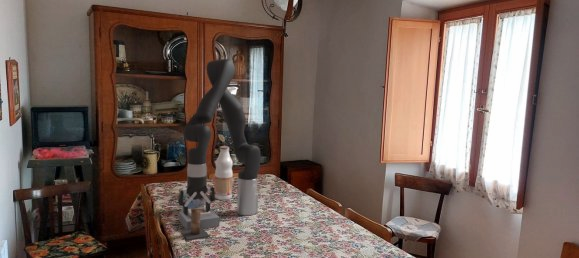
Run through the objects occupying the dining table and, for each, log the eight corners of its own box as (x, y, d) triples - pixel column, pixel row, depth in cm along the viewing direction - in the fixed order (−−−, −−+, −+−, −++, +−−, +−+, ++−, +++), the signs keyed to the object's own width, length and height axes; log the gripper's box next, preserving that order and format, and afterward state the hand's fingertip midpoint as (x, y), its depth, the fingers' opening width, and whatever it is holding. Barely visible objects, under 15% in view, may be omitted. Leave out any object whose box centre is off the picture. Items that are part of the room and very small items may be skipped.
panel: (209, 216, 176) (209, 204, 175) (219, 226, 163) (219, 213, 163) (178, 220, 168) (178, 208, 168) (186, 231, 156) (187, 218, 156)
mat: (202, 229, 159) (202, 228, 159) (209, 236, 152) (209, 235, 152) (181, 232, 155) (181, 231, 155) (187, 240, 147) (187, 239, 147)
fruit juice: (219, 201, 198) (221, 148, 195) (211, 196, 206) (212, 145, 203) (235, 198, 204) (236, 147, 201) (226, 194, 212) (227, 144, 208)
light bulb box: (181, 214, 176) (181, 191, 175) (181, 209, 183) (181, 187, 181) (204, 213, 179) (205, 191, 178) (204, 208, 185) (204, 187, 184)
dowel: (198, 231, 156) (199, 207, 155) (201, 234, 153) (201, 210, 151) (189, 232, 154) (190, 208, 153) (192, 235, 151) (192, 211, 150)
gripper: (211, 170, 157) (210, 208, 159) (176, 173, 150) (176, 213, 152) (217, 174, 151) (216, 213, 153) (181, 178, 143) (181, 219, 145)
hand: (196, 213), depth 152 cm, fingers open, 8 cm apart
